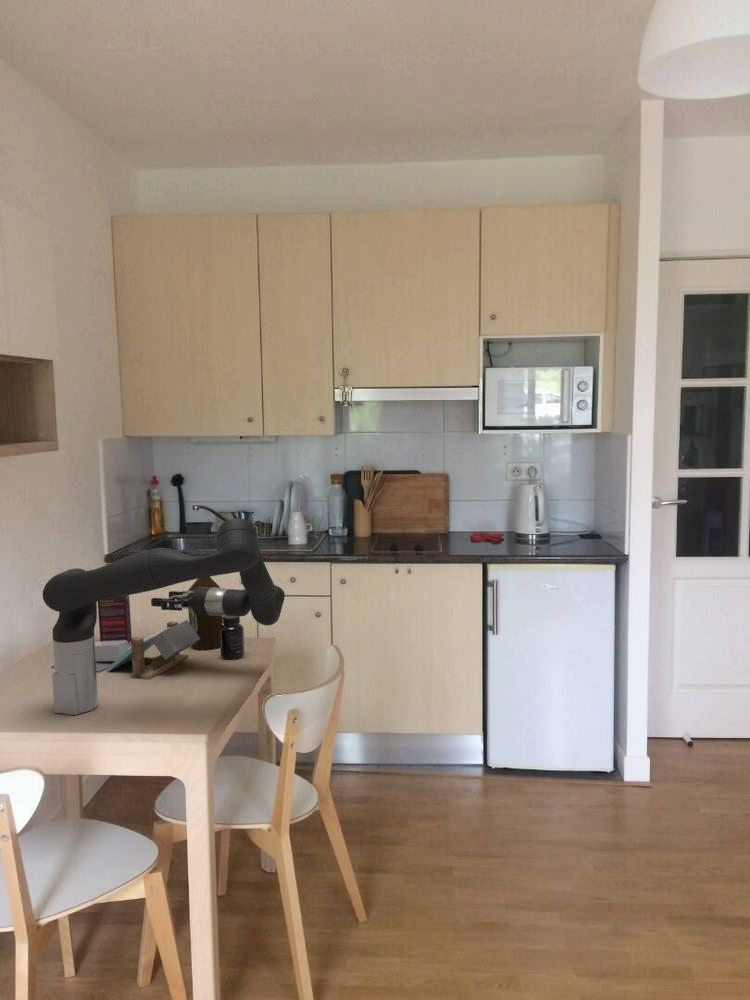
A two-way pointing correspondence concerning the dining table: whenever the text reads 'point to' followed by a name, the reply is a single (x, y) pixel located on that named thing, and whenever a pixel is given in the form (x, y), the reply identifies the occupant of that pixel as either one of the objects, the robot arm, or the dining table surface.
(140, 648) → the stand
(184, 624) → the teal topped platform
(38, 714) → the dining table surface
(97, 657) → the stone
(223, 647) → the supplement bottle
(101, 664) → the mat
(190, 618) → the olive oil
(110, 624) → the supplement box
